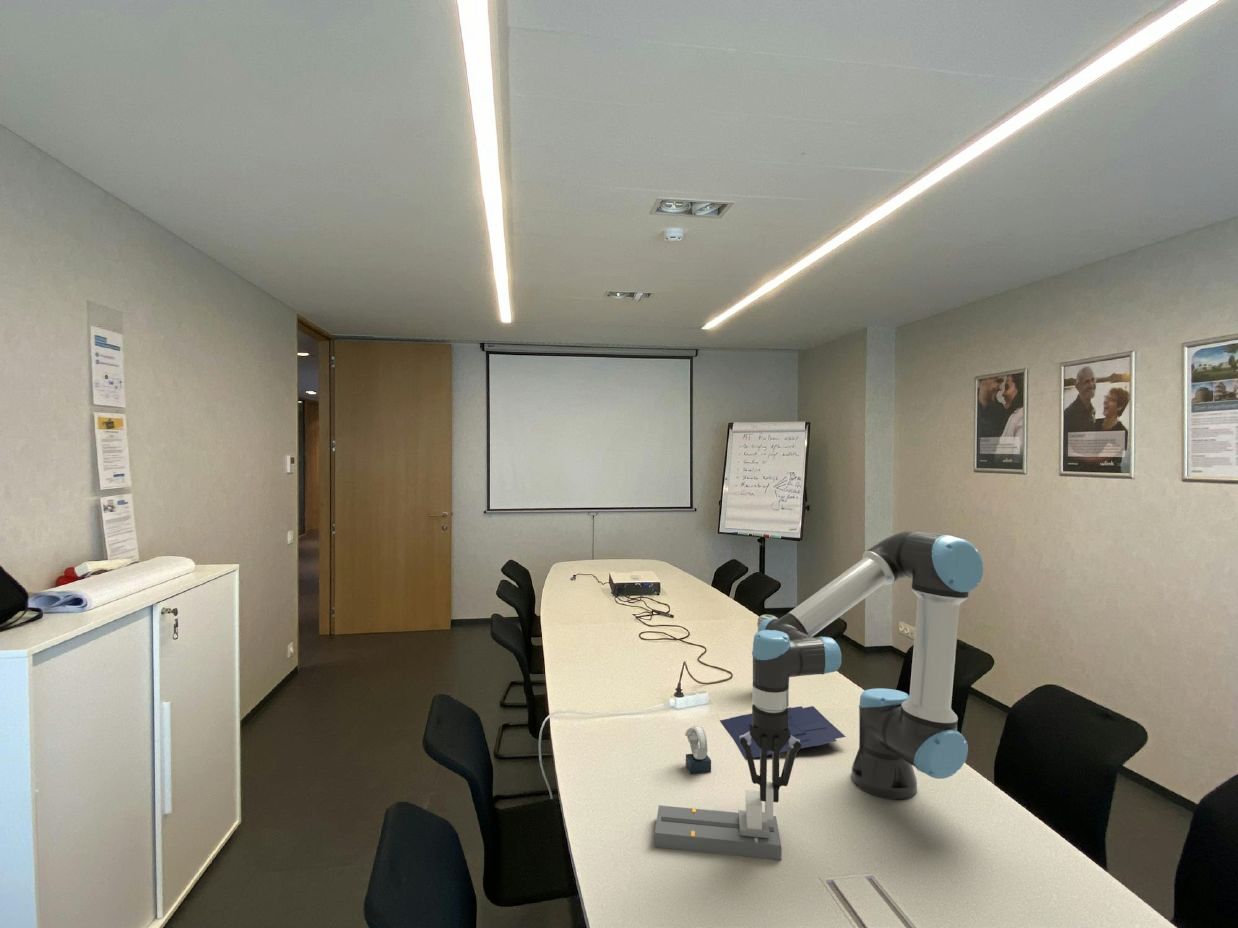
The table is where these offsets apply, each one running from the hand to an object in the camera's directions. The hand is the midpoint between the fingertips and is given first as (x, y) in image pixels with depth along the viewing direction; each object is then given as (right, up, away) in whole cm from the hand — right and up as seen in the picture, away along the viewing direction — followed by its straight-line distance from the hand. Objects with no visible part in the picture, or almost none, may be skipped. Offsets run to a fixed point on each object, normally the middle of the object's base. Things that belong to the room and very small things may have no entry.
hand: (768, 815), depth 127 cm
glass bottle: (+19, -5, +78) cm, 80 cm away
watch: (-11, -6, +30) cm, 33 cm away
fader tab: (-3, -3, +1) cm, 4 cm away
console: (-11, -6, +2) cm, 12 cm away
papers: (+16, -6, +49) cm, 52 cm away
